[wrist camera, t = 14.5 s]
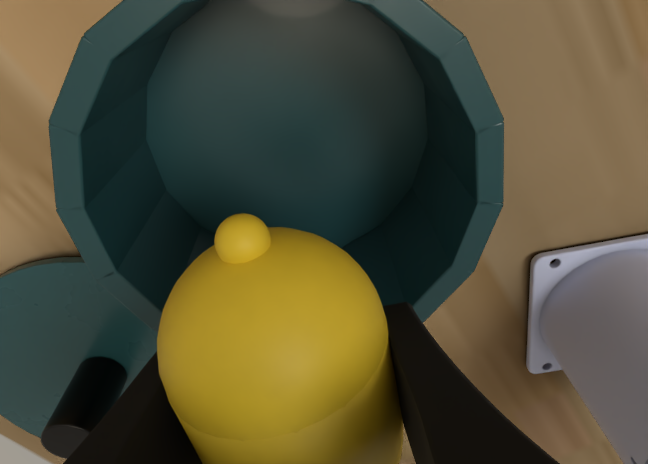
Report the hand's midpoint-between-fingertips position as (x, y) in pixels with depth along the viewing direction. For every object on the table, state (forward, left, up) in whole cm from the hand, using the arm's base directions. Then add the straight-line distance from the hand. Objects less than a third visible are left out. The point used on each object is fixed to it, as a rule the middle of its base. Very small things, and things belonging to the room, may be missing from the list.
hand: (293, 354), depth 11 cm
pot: (0, -2, -10) cm, 10 cm away
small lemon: (0, 0, -1) cm, 1 cm away
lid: (+12, +8, -10) cm, 17 cm away
